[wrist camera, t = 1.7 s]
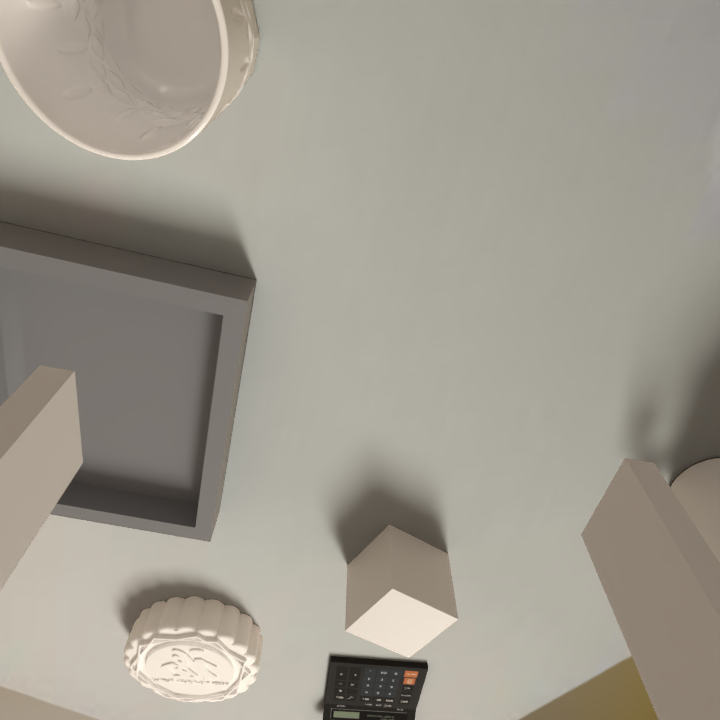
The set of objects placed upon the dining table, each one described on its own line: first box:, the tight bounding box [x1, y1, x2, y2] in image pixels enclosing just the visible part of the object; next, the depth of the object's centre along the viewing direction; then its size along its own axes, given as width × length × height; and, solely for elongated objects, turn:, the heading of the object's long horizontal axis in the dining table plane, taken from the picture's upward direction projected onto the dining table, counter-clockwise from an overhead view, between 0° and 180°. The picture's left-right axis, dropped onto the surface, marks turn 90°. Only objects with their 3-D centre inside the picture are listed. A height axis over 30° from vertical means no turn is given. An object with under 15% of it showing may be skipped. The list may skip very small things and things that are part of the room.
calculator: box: [323, 656, 428, 720], centre depth 56 cm, size 9×12×3 cm
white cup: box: [0, 0, 260, 160], centre depth 23 cm, size 8×8×10 cm
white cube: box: [345, 524, 458, 658], centre depth 44 cm, size 6×6×6 cm
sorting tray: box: [0, 222, 257, 542], centre depth 36 cm, size 20×16×3 cm
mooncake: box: [124, 596, 263, 702], centre depth 51 cm, size 12×12×4 cm
